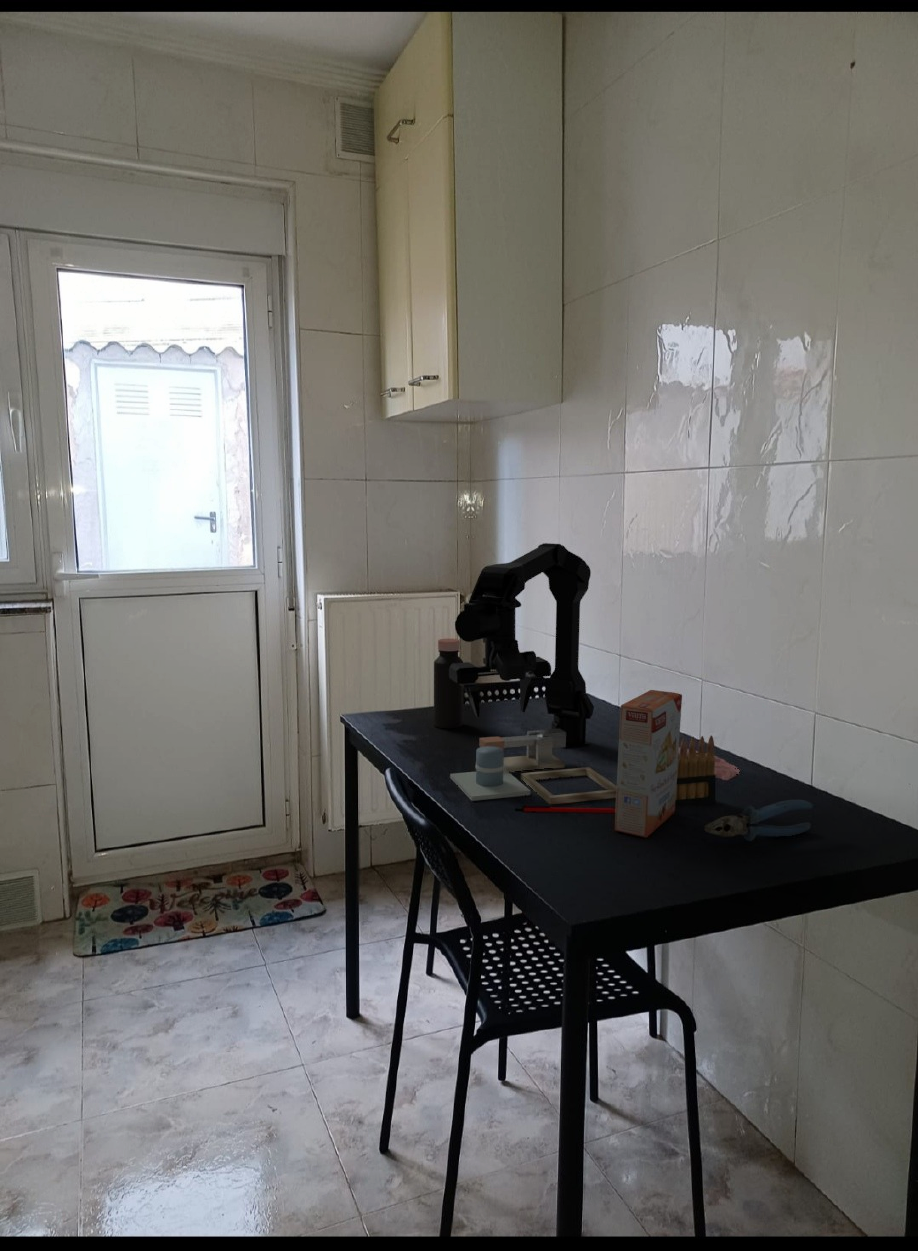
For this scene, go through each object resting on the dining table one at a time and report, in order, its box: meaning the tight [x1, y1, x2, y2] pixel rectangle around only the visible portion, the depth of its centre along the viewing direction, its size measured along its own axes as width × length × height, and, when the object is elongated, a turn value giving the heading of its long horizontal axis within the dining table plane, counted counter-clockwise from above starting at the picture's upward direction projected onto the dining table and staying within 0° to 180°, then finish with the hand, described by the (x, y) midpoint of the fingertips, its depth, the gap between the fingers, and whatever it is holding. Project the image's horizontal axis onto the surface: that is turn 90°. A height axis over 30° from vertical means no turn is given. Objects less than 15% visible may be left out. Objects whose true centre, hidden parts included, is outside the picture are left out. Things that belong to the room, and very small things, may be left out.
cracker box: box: [614, 689, 683, 839], centre depth 143 cm, size 14×6×21 cm, turn 148°
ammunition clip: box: [675, 735, 717, 808], centre depth 152 cm, size 11×2×12 cm, turn 106°
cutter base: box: [504, 730, 566, 773], centre depth 174 cm, size 12×7×6 cm, turn 107°
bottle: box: [433, 638, 464, 730], centre depth 202 cm, size 7×7×20 cm
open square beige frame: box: [520, 766, 617, 806], centre depth 161 cm, size 14×14×1 cm
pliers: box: [704, 799, 814, 842], centre depth 137 cm, size 20×2×6 cm, turn 111°
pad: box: [449, 769, 531, 802], centre depth 161 cm, size 11×13×1 cm
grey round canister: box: [475, 746, 505, 787], centre depth 161 cm, size 5×5×6 cm
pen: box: [514, 805, 616, 814], centre depth 149 cm, size 1×19×1 cm, turn 89°
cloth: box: [678, 746, 741, 781], centre depth 177 cm, size 20×22×2 cm
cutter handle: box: [478, 728, 567, 750], centre depth 173 cm, size 17×3×3 cm, turn 107°
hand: (500, 714), depth 167 cm, fingers open, 9 cm apart
